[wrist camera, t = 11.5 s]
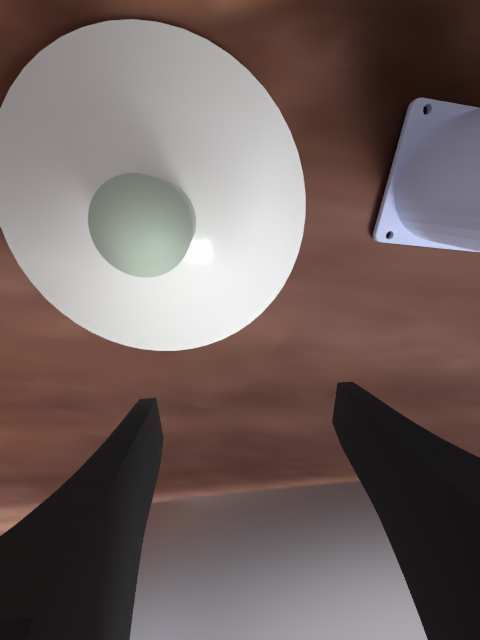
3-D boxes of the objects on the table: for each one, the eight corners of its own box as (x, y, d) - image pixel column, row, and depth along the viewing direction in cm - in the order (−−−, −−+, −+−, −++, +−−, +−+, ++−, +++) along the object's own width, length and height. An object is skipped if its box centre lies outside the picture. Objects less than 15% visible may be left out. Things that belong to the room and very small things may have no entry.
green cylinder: (198, 184, 17) (193, 179, 12) (194, 259, 18) (189, 281, 14) (118, 174, 16) (82, 166, 11) (123, 253, 18) (92, 273, 13)
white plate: (330, 62, 16) (335, 55, 15) (278, 350, 22) (280, 356, 22) (-40, -7, 13) (-54, -19, 12) (31, 339, 20) (24, 344, 19)
